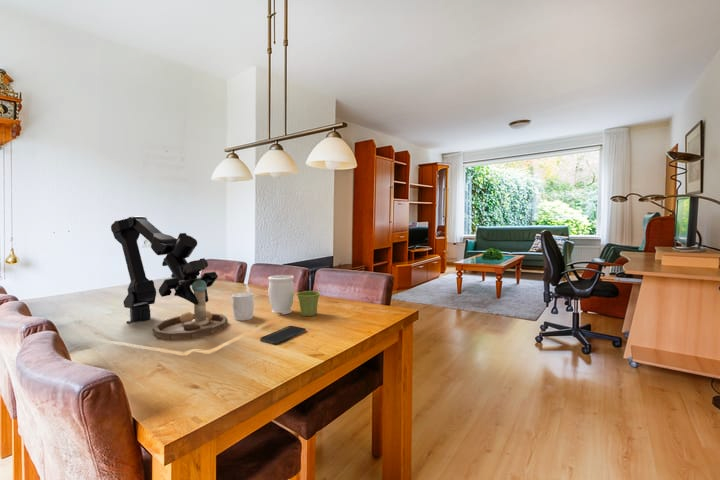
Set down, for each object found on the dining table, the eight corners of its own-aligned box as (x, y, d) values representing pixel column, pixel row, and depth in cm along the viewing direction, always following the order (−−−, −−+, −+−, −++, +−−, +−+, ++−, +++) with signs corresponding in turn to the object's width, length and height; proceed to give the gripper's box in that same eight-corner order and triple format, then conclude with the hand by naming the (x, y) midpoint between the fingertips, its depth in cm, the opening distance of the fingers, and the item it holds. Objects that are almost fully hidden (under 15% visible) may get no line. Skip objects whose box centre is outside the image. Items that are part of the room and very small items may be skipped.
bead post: (189, 325, 109) (187, 281, 108) (196, 321, 114) (194, 278, 113) (205, 325, 109) (203, 281, 108) (211, 320, 114) (209, 278, 113)
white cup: (247, 323, 124) (246, 297, 123) (228, 322, 126) (227, 296, 125) (258, 317, 132) (257, 292, 131) (240, 316, 133) (239, 291, 133)
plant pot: (292, 314, 137) (292, 293, 136) (312, 309, 143) (312, 289, 142) (304, 319, 130) (304, 297, 129) (325, 314, 136) (324, 293, 135)
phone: (258, 338, 107) (290, 325, 120) (258, 342, 107) (290, 328, 120) (277, 342, 103) (307, 328, 116) (277, 346, 103) (307, 331, 116)
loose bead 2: (196, 323, 121) (195, 311, 121) (205, 320, 125) (205, 308, 125) (205, 325, 120) (205, 312, 119) (214, 321, 124) (214, 309, 123)
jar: (271, 309, 144) (270, 274, 143) (295, 308, 145) (295, 274, 144) (266, 316, 134) (265, 279, 133) (292, 315, 134) (292, 278, 133)
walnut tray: (137, 338, 110) (137, 329, 109) (192, 318, 131) (192, 311, 131) (191, 346, 102) (190, 336, 102) (240, 324, 123) (239, 316, 123)
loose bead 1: (177, 324, 120) (176, 312, 120) (187, 321, 124) (186, 309, 124) (186, 326, 118) (186, 313, 118) (196, 322, 123) (196, 310, 122)
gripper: (162, 253, 104) (187, 293, 99) (213, 249, 120) (236, 282, 116) (148, 277, 108) (171, 315, 103) (199, 269, 124) (221, 302, 120)
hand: (202, 302), depth 110 cm, fingers closed on bead post, 3 cm apart
